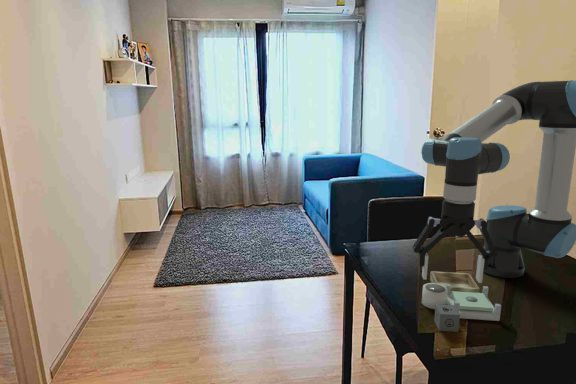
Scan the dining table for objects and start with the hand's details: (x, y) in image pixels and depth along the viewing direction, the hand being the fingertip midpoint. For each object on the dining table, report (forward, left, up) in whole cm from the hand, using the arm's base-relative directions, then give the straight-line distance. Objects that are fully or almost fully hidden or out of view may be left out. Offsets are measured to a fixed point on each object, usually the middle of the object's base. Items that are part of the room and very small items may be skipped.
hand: (451, 279), depth 107 cm
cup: (+1, -13, -14) cm, 19 cm away
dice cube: (0, -1, -14) cm, 14 cm away
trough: (-7, -24, -14) cm, 29 cm away
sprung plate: (-9, -12, -12) cm, 19 cm away
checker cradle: (-9, -12, -14) cm, 20 cm away
